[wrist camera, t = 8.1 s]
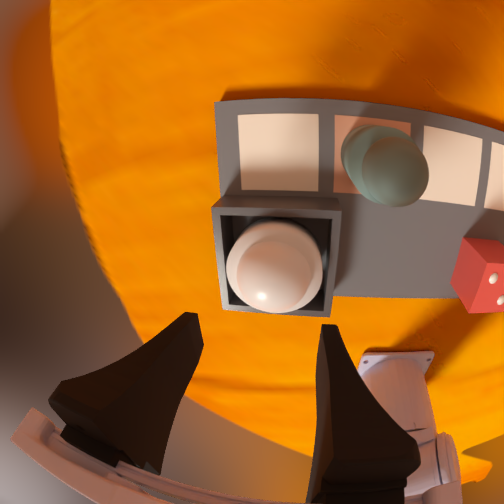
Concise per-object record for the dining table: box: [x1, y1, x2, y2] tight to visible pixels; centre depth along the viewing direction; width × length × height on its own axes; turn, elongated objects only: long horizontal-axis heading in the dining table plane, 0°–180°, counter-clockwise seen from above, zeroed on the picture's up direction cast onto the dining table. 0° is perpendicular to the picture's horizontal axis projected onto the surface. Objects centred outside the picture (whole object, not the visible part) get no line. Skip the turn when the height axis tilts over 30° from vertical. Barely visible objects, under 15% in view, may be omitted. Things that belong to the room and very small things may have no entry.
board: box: [211, 98, 504, 317], centre depth 16 cm, size 14×26×4 cm, turn 93°
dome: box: [226, 217, 322, 313], centre depth 17 cm, size 6×6×4 cm
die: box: [450, 237, 504, 313], centre depth 15 cm, size 4×4×4 cm
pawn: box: [341, 125, 429, 207], centre depth 13 cm, size 4×4×7 cm
